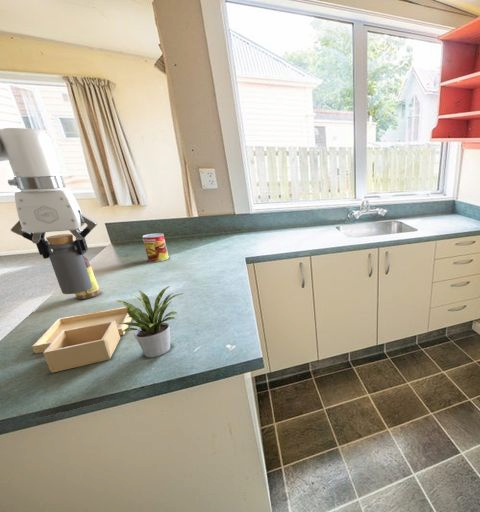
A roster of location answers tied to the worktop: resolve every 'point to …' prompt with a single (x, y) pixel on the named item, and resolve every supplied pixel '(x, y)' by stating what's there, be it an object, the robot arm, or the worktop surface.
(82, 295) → the sauce bottle
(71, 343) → the bin
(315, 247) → the worktop surface
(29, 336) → the worktop surface
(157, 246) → the canned food
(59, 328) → the tray
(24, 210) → the robot arm
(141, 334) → the house plant
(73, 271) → the bottle
